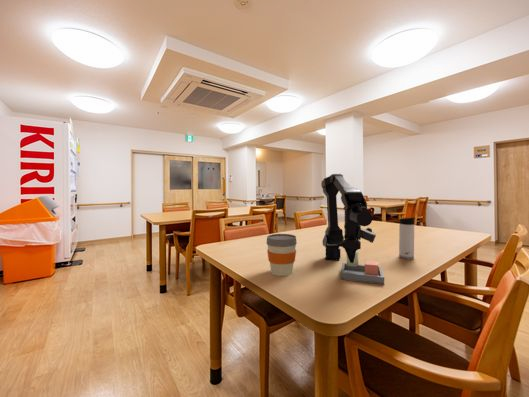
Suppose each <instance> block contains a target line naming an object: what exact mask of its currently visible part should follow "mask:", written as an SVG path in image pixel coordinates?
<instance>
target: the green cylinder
mask: <svg viewBox="0 0 529 397" xmlns="http://www.w3.org/2000/svg"><path fill="white" fill-rule="evenodd" d="M346 263H347V265H348V266H352V267H356V266H358V265H359V252H358V251H356V253H355V258H354V262H353V263H350V261H349V258H348V256H347V255H346Z"/></svg>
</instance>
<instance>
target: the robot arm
mask: <svg viewBox="0 0 529 397" xmlns="http://www.w3.org/2000/svg"><path fill="white" fill-rule="evenodd" d="M320 183H321V188H322V193H323V194H324V195H325V197H326V207H327V208H326V209H327V210H326V211H327V212H326V213H327V227H326V229H325V232H324V237H323V238H322V246H323V247H324V248H325V257H324V259H325V260H329V261H340V259H341V255H342V254H341V248H343V249H344V251H345V254H346V257H347V256H348V258H349V261H350V263H353V262H354V258H355V253H356V252H358V250H361V246H362V245H361V241H360V240H361V239H363V240H365V241H368V242H369V243H371V244H372V243H374V241H375V238H376V236H377V235H376V233H375V232H373V229H372V228H370V227H369V225H371V223H373V215H372V213H371V212H370V211H369V210H368V203H367V201H366V199H365V196H364V193H363V192H362V191H361V190H359V189H358V188H355V187H352V186H351V185H350V183H349V182H348V181H347V180H346V178H344V175H343V174H341V173H333V174H330V175H328V176H327V177H324V178H323V179H322V180H321V182H320ZM338 193H340V195H341V196H340V200H341V202H342V204H343V208H342V209H343V210H344V224H343V225H344V226H343V228H344V234H343V229H342V228H341V227H340V226H339V217H338V202H337V201H338V200H337V195H338ZM362 227H367V228H362ZM340 247H341V248H340Z"/></svg>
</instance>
